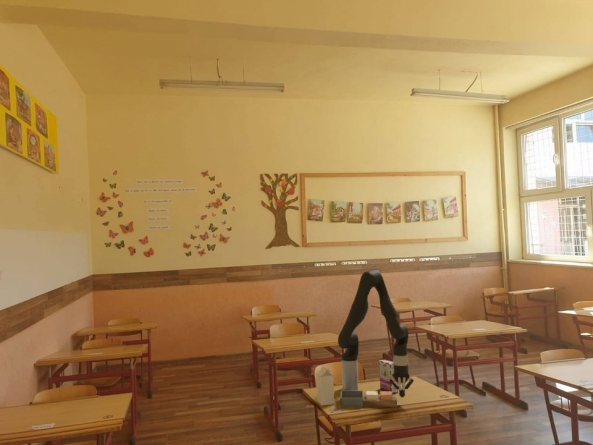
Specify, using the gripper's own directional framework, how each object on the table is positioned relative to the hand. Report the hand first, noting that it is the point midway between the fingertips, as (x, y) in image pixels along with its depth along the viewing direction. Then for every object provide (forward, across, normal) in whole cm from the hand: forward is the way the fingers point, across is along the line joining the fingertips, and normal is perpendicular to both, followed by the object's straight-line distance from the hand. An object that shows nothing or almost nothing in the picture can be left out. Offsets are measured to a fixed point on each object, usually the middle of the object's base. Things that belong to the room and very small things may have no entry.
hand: (402, 396), depth 240 cm
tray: (+4, +26, 0) cm, 26 cm away
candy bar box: (+4, +5, -22) cm, 23 cm away
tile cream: (0, +16, 0) cm, 16 cm away
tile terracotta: (0, +8, 0) cm, 8 cm away
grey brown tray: (+4, +12, 0) cm, 12 cm away
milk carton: (+4, +40, 0) cm, 40 cm away
